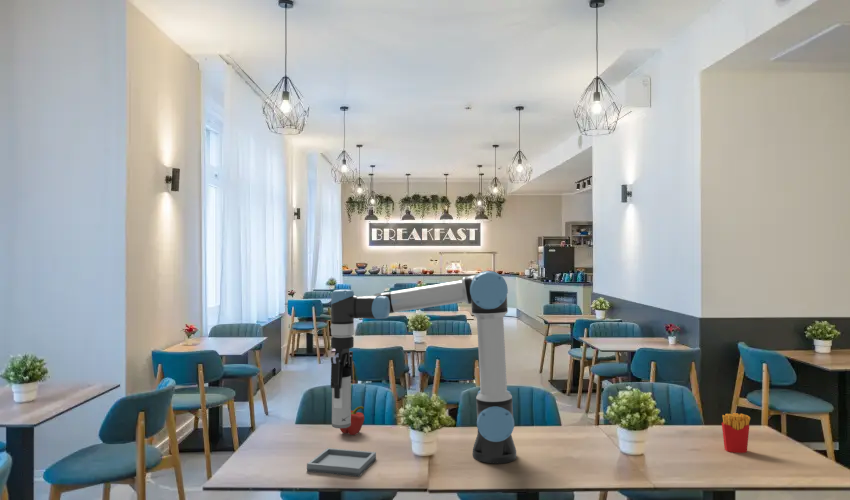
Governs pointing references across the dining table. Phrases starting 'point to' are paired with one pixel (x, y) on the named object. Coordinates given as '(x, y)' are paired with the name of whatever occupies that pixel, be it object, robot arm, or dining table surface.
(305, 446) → the dining table surface
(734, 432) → the french fries
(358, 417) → the vegetable
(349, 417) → the travel mug
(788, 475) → the dining table surface
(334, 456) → the tray
